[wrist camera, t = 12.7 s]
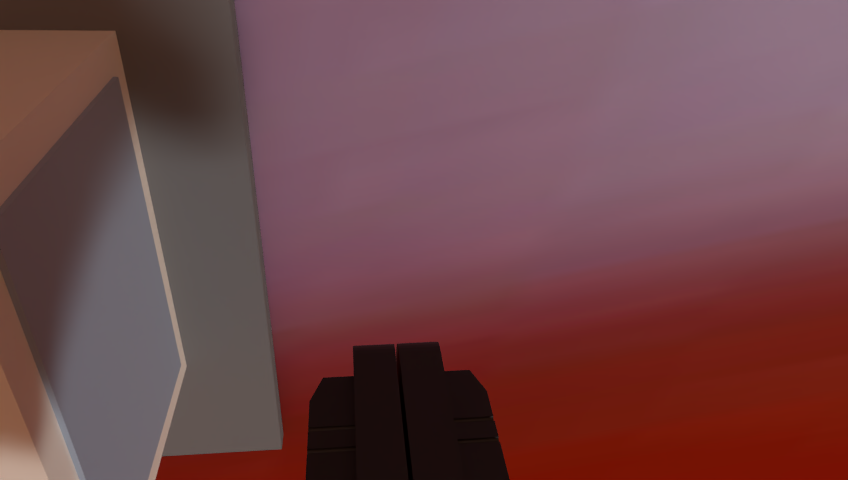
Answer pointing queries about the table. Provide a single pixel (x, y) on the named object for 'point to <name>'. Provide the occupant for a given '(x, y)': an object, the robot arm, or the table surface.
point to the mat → (194, 204)
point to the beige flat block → (79, 269)
